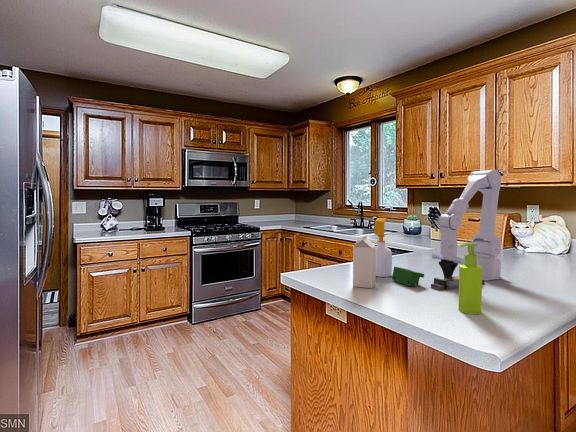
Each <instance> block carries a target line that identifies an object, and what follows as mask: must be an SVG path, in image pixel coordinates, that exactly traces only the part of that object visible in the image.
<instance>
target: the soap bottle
mask: <svg viewBox="0 0 576 432" xmlns="http://www.w3.org/2000/svg"><path fill="white" fill-rule="evenodd" d="M386 221H387V218H386V217H377V218H376V219H375V221H374V224H373V225H374V236H377V238H378V240H376V245H375V246H376V265H375V277H377V276H378V278H389V277H392V275H393V252H392V250H391V249H390V248H389V247H387V246H386V240H384V238H385V236H386V235H388V234H387V233H385V223H386ZM388 276H389V277H388Z"/></svg>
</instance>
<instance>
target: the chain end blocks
mask: <svg viewBox="0 0 576 432" xmlns="http://www.w3.org/2000/svg"><path fill="white" fill-rule="evenodd" d="M485 281H486V280H482V285H485V283H486V282H485ZM430 288H431V289H434V290H437V291H444V290H445V291H446V290H447V291H448V290H455V289H459V280H457V279H454V280H444V278H443V279H442V278H439V277H434V278H433V283H430Z"/></svg>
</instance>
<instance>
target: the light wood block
mask: <svg viewBox="0 0 576 432" xmlns="http://www.w3.org/2000/svg"><path fill="white" fill-rule="evenodd" d="M454 279H457V280H459V275H458V276H452V277H448V278H444V277H443V280H454Z"/></svg>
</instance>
